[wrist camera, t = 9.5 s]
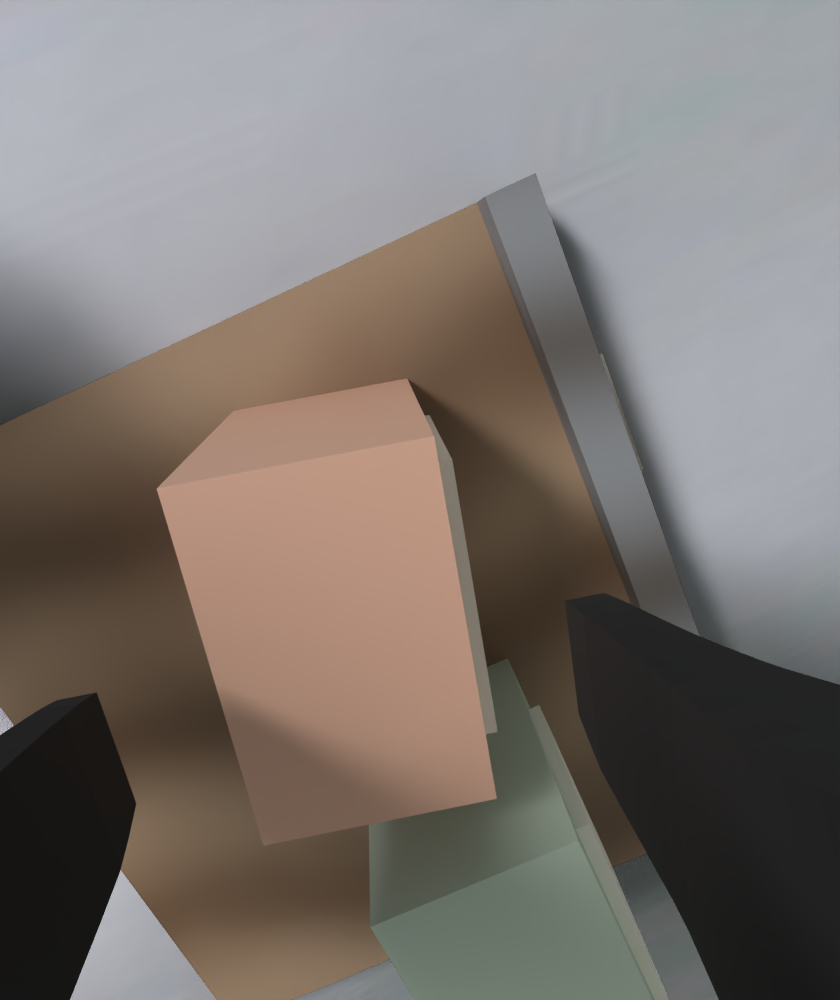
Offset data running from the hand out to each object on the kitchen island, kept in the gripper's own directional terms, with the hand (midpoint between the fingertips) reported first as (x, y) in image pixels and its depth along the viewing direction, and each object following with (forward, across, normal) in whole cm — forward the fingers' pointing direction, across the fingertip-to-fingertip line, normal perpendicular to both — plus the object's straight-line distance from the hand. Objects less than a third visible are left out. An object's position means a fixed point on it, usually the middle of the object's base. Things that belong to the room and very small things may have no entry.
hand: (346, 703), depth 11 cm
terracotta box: (+8, 0, 0) cm, 8 cm away
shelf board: (+10, +1, +4) cm, 11 cm away
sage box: (+8, -2, +9) cm, 12 cm away
